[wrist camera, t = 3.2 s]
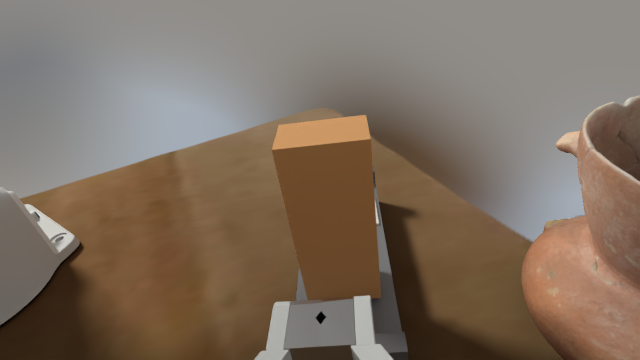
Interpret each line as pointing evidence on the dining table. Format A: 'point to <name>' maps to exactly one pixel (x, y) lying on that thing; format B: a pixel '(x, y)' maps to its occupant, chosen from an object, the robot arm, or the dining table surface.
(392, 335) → the switch track
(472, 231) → the dining table surface
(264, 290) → the dining table surface
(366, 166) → the switch tab
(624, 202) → the ceramic jug
